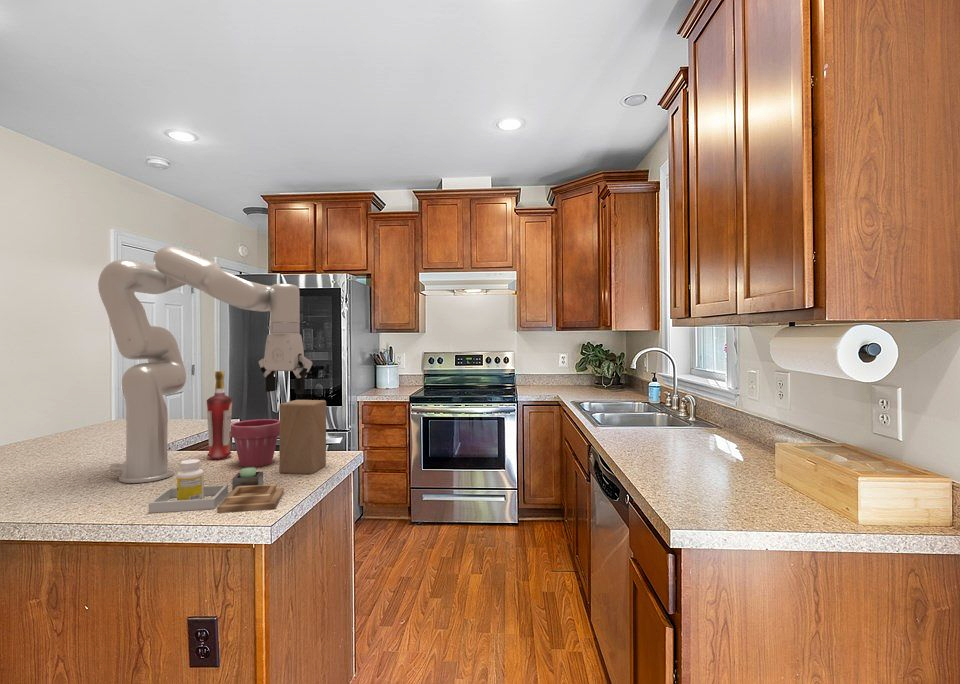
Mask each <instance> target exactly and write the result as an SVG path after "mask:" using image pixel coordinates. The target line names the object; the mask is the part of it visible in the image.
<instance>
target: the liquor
mask: <svg viewBox="0 0 960 684" xmlns="http://www.w3.org/2000/svg"><path fill="white" fill-rule="evenodd" d="M214 379H215V387H214V393H213V396H210V397H209V398H208V399H206V414H207V415H206V416H207V417H206V419H207V429H208V430H207V433H208V435H207V437H208V453H207V457H208V458H210V459H211V460H213V461H215V460H217V461H219V460H224V459H228V457H229V456H230V455H231V454H232V451H231V424H232V416H233V415H232V412H233V398H232V397H230V396H229V395H226V392H225V382H224V380H225V371H224V370H215V371H214Z"/></svg>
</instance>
